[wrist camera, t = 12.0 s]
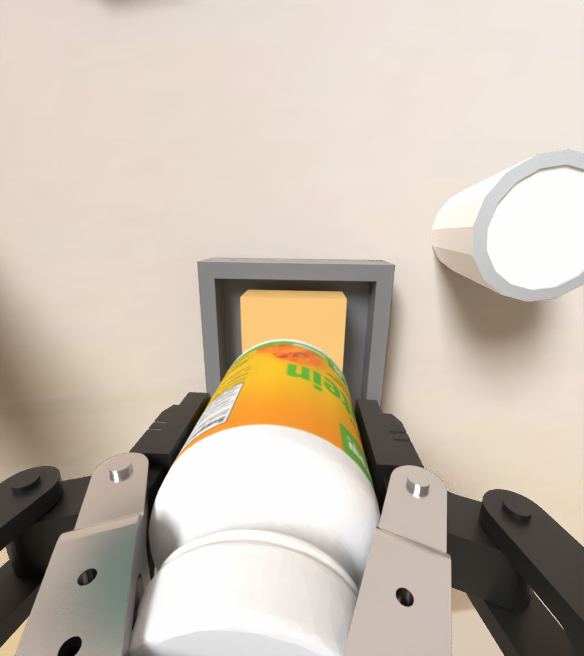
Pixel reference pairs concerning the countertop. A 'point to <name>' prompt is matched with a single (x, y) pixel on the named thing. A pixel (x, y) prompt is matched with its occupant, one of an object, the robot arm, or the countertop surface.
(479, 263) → the white cup
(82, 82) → the countertop surface
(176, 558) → the supplement bottle
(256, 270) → the keypad base
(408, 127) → the countertop surface
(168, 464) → the robot arm
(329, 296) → the key
